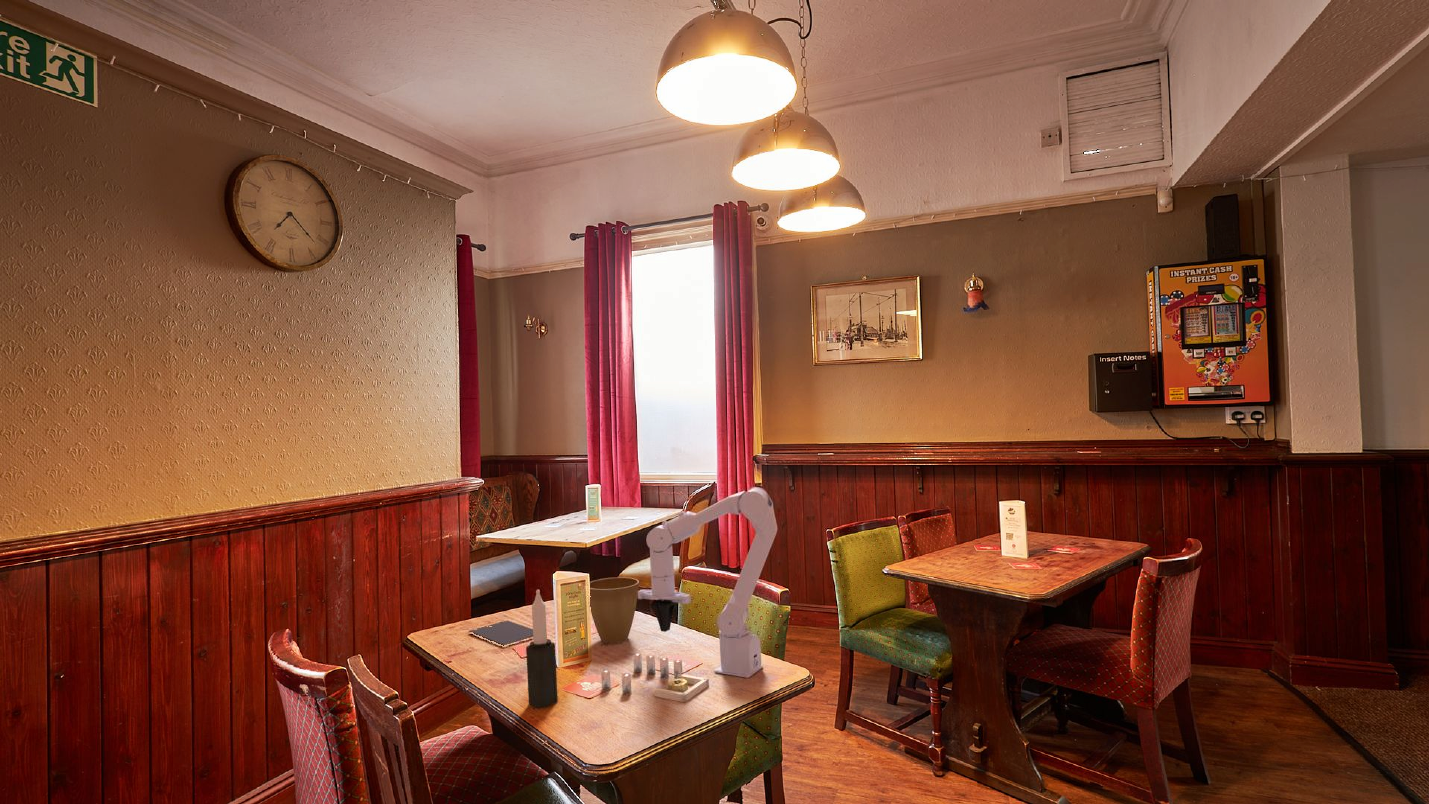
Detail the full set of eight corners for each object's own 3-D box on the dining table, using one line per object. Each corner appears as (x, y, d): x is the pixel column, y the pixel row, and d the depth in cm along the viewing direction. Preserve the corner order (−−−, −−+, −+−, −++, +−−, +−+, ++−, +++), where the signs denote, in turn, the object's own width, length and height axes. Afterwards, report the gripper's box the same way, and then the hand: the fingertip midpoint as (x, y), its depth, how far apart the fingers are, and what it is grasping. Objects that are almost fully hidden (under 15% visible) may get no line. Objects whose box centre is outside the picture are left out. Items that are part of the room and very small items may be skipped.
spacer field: (684, 677, 164) (683, 660, 164) (649, 699, 152) (648, 681, 152) (637, 668, 171) (636, 652, 172) (600, 689, 159) (599, 672, 160)
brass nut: (690, 688, 158) (690, 679, 158) (679, 696, 154) (679, 686, 154) (676, 686, 160) (675, 676, 160) (664, 693, 156) (664, 684, 156)
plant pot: (638, 647, 188) (635, 588, 188) (583, 649, 188) (580, 590, 188) (644, 630, 203) (641, 575, 203) (593, 632, 203) (591, 577, 203)
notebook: (468, 635, 208) (503, 650, 193) (468, 630, 208) (503, 644, 193) (507, 625, 217) (543, 638, 202) (507, 620, 217) (543, 632, 202)
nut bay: (708, 685, 158) (708, 678, 158) (684, 702, 150) (684, 695, 150) (679, 680, 163) (679, 673, 163) (654, 696, 154) (654, 689, 154)
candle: (543, 709, 150) (537, 593, 151) (526, 705, 153) (521, 591, 153) (560, 700, 154) (554, 588, 155) (543, 696, 157) (538, 586, 158)
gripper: (629, 576, 171) (632, 631, 171) (677, 581, 164) (680, 638, 163) (646, 570, 177) (649, 623, 177) (693, 574, 170) (696, 630, 170)
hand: (665, 630), depth 171 cm, fingers closed
